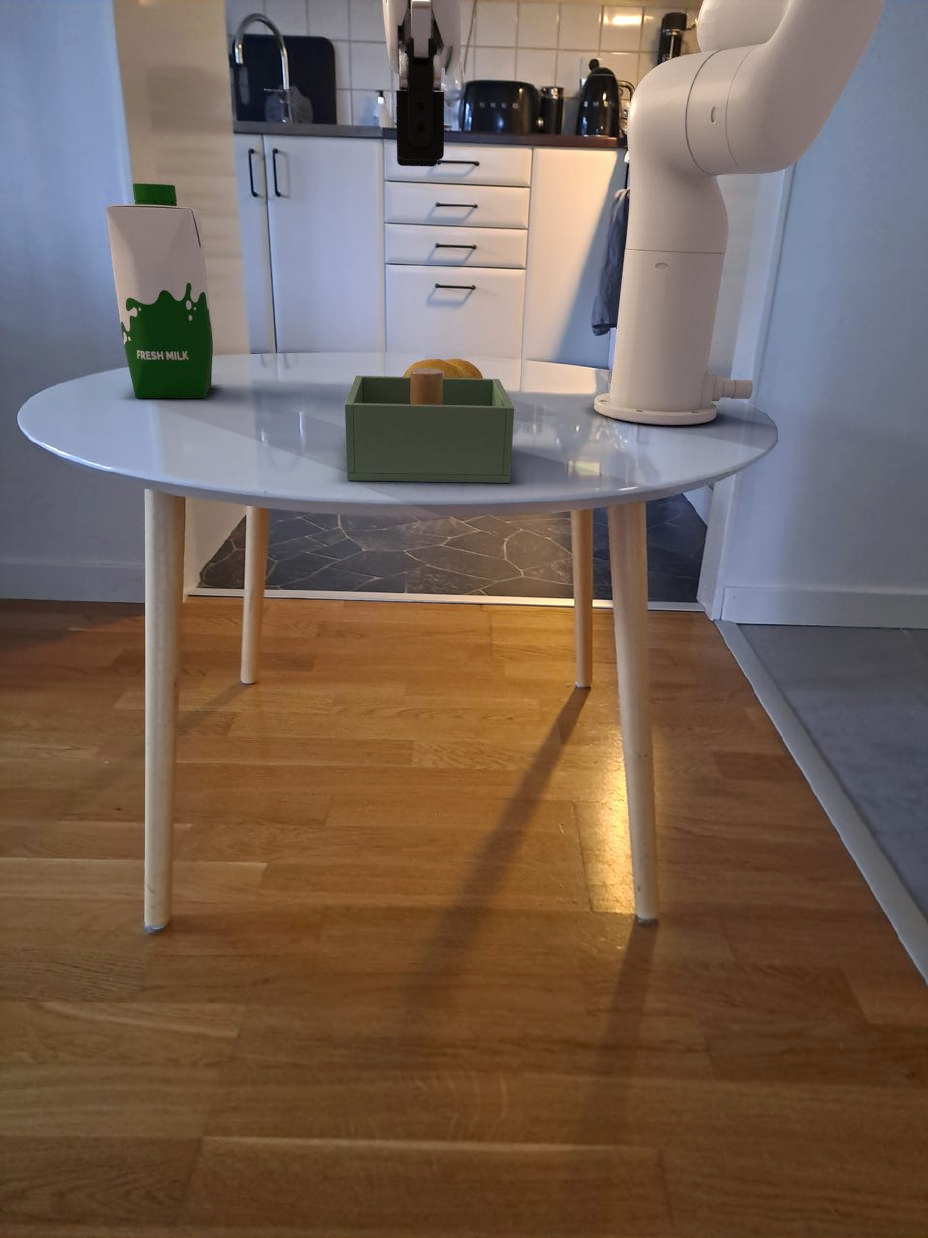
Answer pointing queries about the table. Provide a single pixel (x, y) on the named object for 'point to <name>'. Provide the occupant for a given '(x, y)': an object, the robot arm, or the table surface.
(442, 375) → the wooden peg stand
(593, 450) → the table surface
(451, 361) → the bread roll
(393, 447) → the tub
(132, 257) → the milk carton
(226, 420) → the table surface
